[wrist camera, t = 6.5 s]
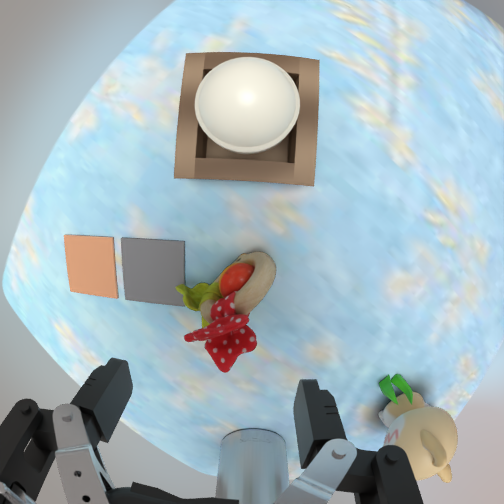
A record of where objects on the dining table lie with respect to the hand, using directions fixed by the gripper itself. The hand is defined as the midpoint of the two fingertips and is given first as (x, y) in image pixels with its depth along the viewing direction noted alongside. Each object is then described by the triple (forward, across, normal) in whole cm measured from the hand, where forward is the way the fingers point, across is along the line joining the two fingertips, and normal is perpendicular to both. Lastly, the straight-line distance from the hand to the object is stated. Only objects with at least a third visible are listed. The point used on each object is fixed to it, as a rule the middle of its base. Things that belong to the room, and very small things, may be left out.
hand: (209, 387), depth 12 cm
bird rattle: (+15, 0, 0) cm, 16 cm away
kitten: (+15, -24, +18) cm, 34 cm away
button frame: (+15, 0, -14) cm, 21 cm away
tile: (+15, +15, 0) cm, 22 cm away
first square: (+15, +8, 0) cm, 17 cm away
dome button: (+12, -1, -14) cm, 18 cm away
